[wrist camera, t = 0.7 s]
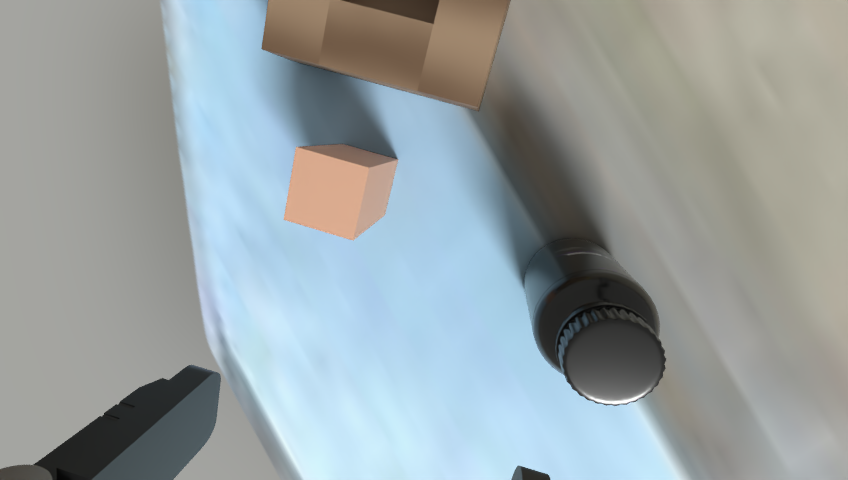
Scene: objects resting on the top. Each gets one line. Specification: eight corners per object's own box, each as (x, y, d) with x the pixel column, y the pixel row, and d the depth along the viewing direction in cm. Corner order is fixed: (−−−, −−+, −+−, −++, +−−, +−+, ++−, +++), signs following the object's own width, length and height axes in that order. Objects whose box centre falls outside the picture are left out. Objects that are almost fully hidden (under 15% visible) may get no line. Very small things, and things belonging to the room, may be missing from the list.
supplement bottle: (592, 219, 30) (659, 272, 18) (631, 298, 31) (717, 396, 19) (506, 260, 32) (518, 332, 20) (545, 334, 33) (578, 443, 21)
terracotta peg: (342, 143, 31) (296, 146, 24) (398, 159, 31) (369, 167, 23) (331, 199, 32) (283, 219, 25) (384, 215, 32) (353, 240, 24)
